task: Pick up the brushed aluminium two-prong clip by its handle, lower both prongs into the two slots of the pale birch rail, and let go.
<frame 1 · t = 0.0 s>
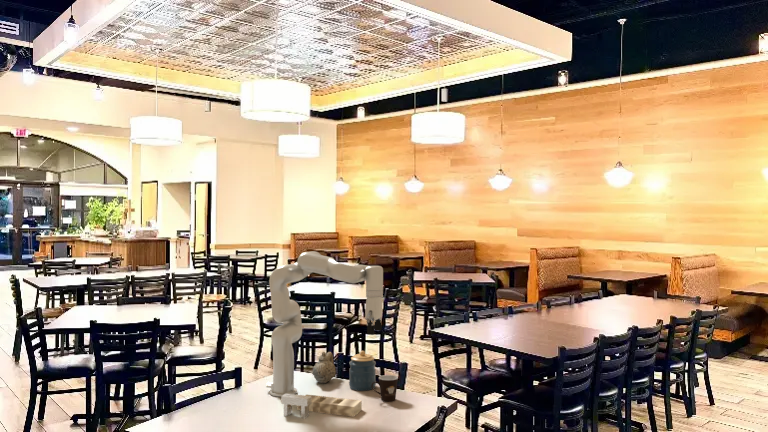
hand: (374, 332, 258), 31 cm above the table, tool pointing down, fingers open, 9 cm apart
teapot: (324, 381, 291), on the table
rail: (329, 409, 248), on the table
canister: (362, 387, 282), on the table
clip: (296, 415, 241), on the table
coffee mug: (384, 400, 262), on the table
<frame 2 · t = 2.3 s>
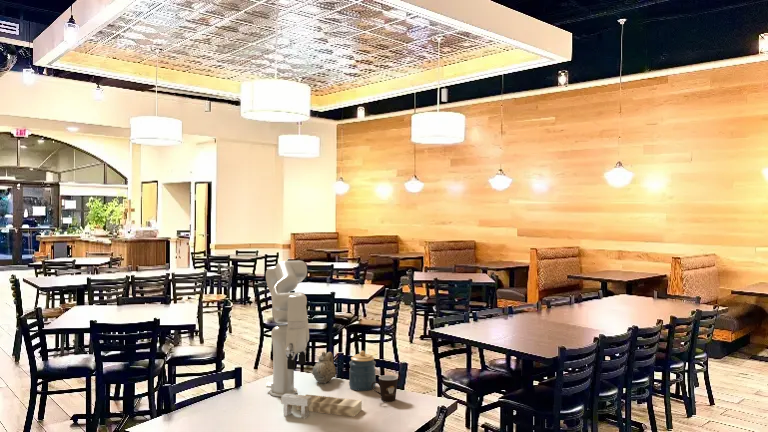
hand: (296, 366, 241), 20 cm above the table, tool pointing down, fingers open, 9 cm apart
nothing on the table moved.
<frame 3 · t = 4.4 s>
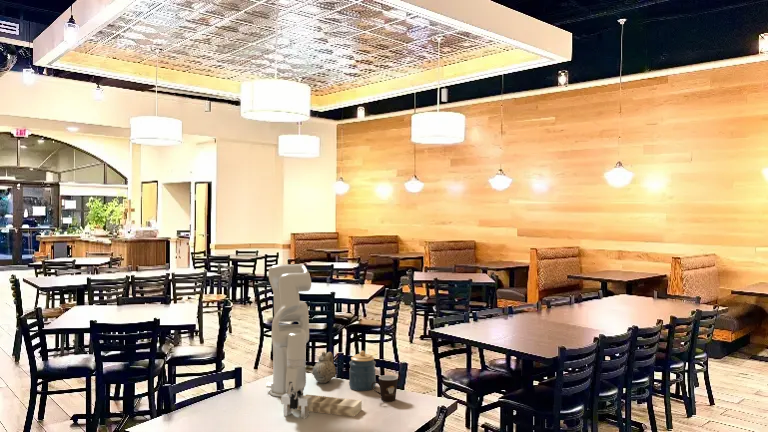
hand: (296, 406, 241), 4 cm above the table, tool pointing down, fingers closed on clip, 4 cm apart
clip: (296, 415, 241), on the table, touching gripper
everything else where it was.
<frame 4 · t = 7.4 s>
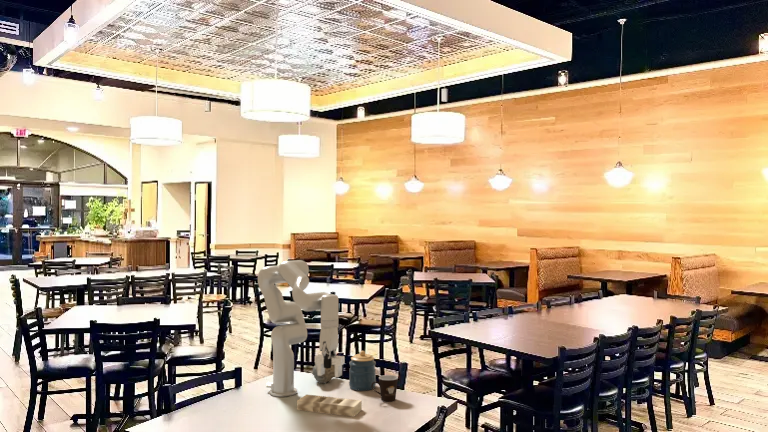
hand: (329, 366, 248), 19 cm above the table, tool pointing down, fingers closed on clip, 4 cm apart
clip: (329, 375, 248), point 15 cm above the table, touching gripper
everything else where it was.
when the fingers open (5 cm above the table, at t = 10.3 s): clip drops 1 cm, resting in rail.
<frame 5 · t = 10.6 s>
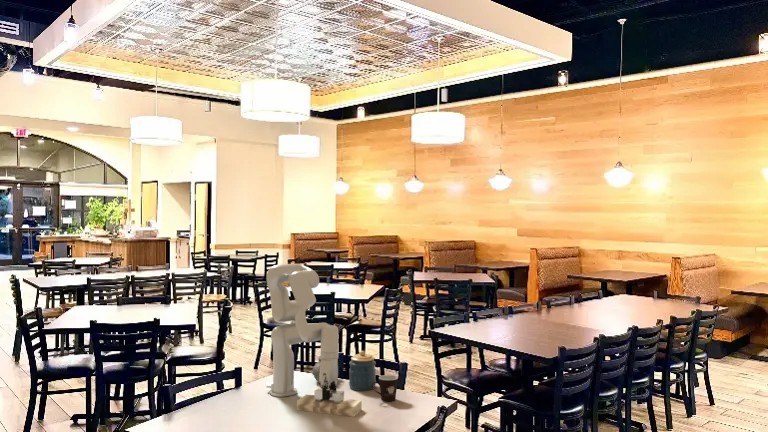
hand: (329, 396, 248), 6 cm above the table, tool pointing down, fingers open, 6 cm apart
clip: (329, 409, 248), resting in rail
everything else where it was.
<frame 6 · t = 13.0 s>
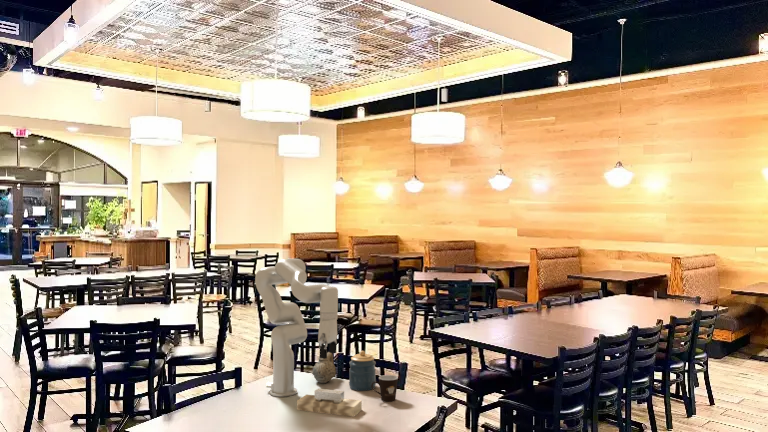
hand: (328, 355, 250), 23 cm above the table, tool pointing down, fingers open, 9 cm apart
nothing on the table moved.
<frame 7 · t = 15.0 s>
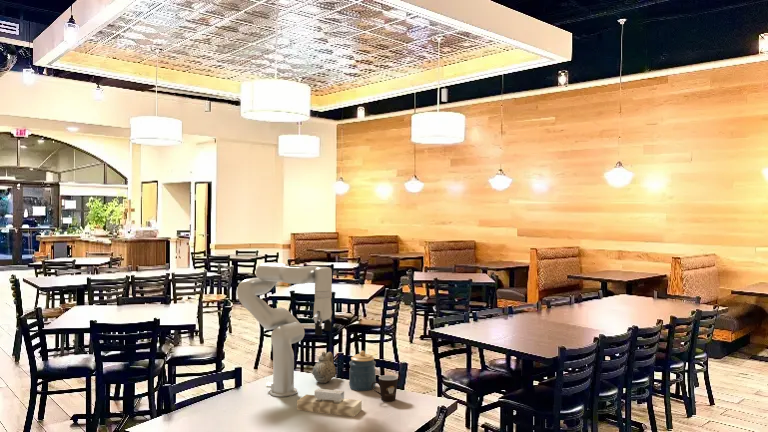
hand: (323, 332, 261), 30 cm above the table, tool pointing down, fingers open, 9 cm apart
nothing on the table moved.
at the end: clip 0.1 cm off-centre on the rail, point 0.0 cm above the rail's base; clip tilted 0°; the gripper is holding nothing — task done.
